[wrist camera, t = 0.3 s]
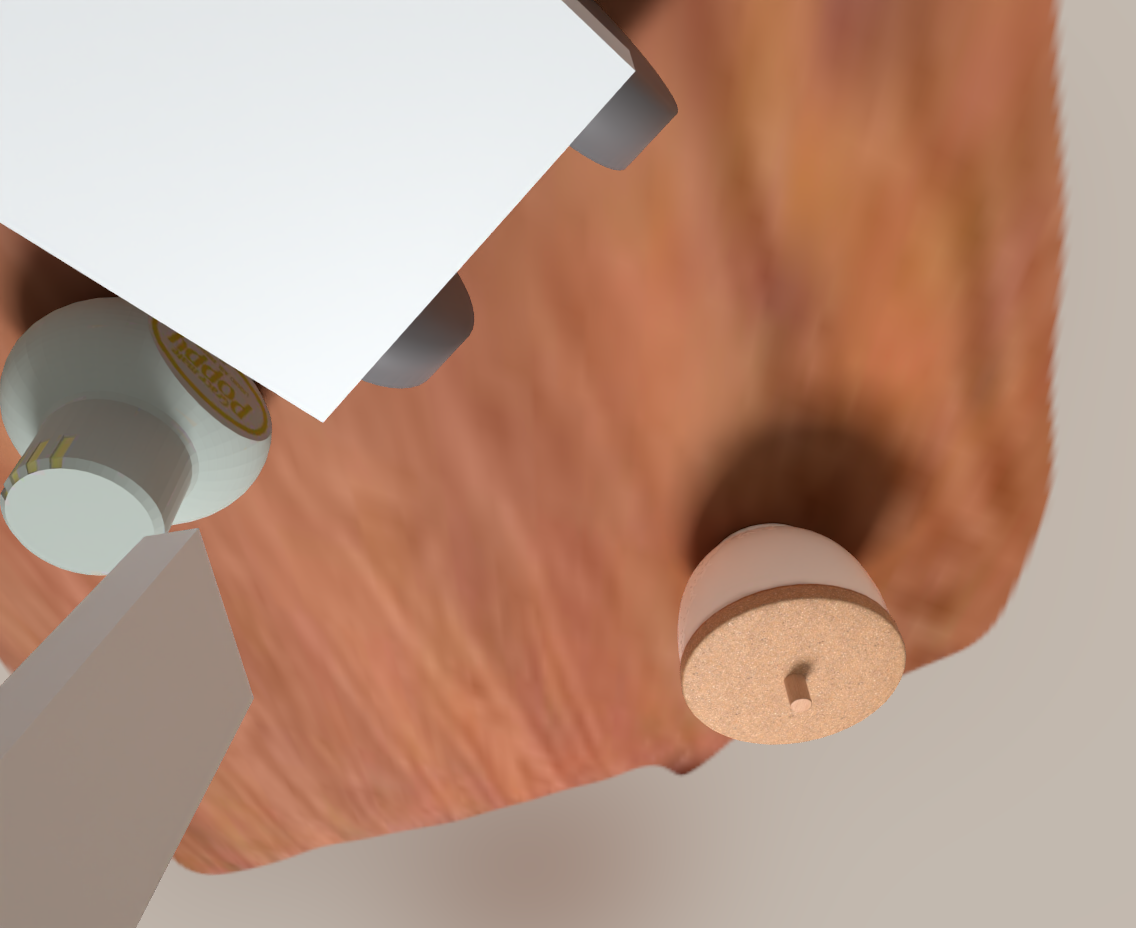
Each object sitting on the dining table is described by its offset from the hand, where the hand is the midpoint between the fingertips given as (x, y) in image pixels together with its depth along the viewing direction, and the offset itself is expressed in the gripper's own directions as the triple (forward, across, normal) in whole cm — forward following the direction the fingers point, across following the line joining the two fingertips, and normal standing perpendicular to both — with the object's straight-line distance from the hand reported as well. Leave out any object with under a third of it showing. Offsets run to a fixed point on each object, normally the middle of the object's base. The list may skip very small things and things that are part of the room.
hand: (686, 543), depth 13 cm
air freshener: (+31, -20, -3) cm, 37 cm away
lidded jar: (+35, +6, -19) cm, 41 cm away
